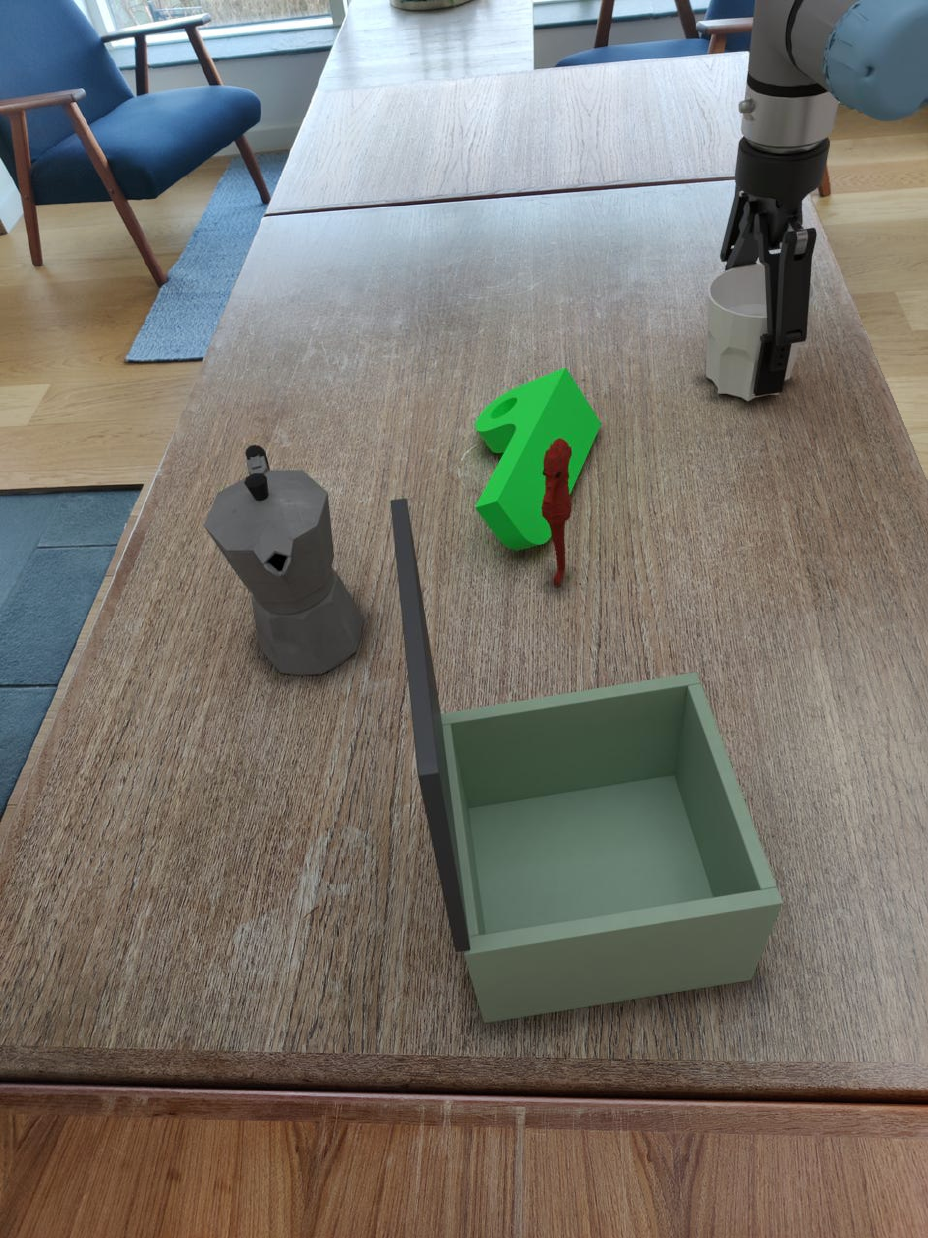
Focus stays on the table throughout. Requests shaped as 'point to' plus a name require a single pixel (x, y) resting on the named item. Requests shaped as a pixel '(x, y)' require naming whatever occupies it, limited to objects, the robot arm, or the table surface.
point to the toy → (557, 498)
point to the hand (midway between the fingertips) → (749, 362)
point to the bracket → (531, 453)
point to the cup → (739, 329)
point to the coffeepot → (287, 566)
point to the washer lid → (428, 727)
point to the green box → (603, 849)
